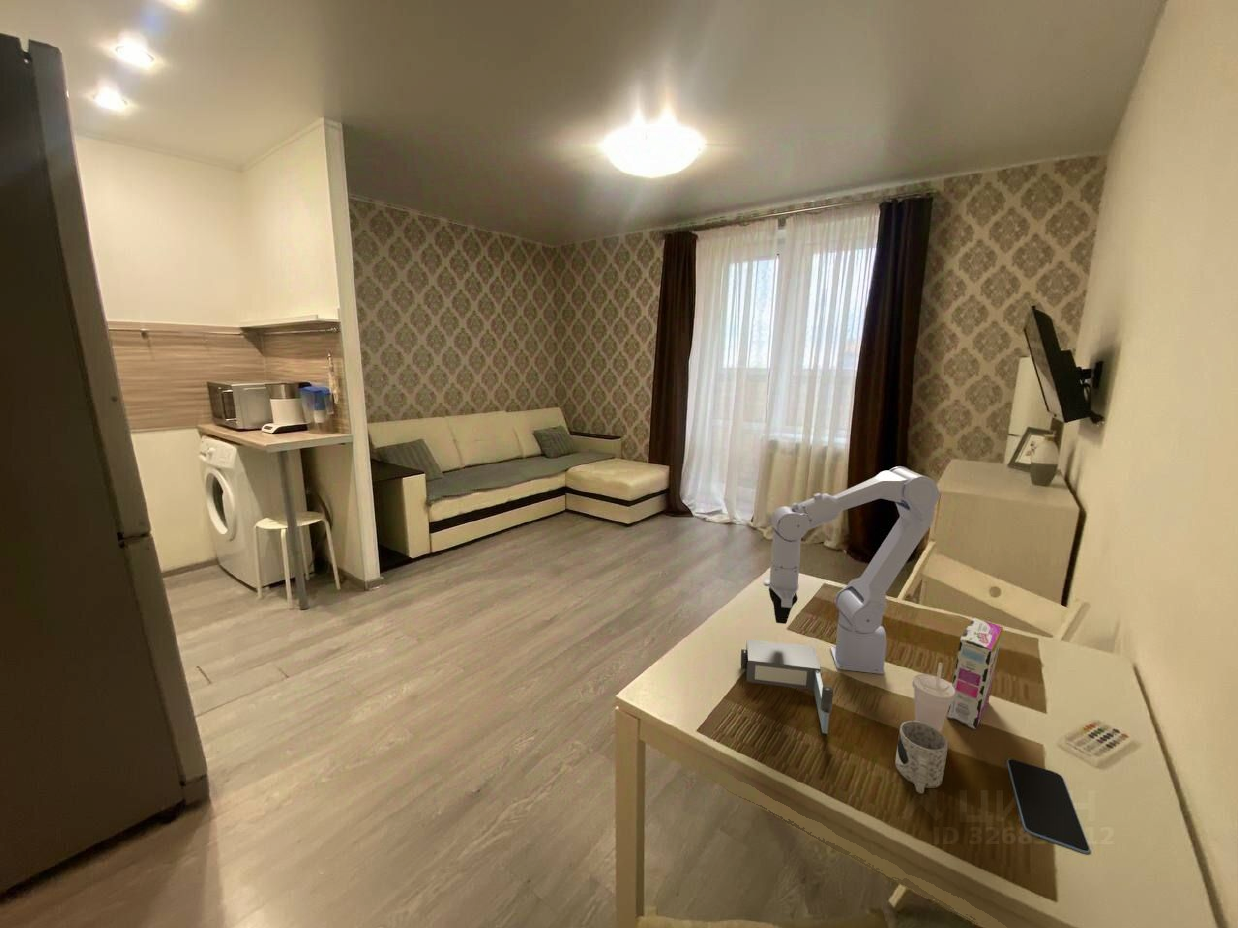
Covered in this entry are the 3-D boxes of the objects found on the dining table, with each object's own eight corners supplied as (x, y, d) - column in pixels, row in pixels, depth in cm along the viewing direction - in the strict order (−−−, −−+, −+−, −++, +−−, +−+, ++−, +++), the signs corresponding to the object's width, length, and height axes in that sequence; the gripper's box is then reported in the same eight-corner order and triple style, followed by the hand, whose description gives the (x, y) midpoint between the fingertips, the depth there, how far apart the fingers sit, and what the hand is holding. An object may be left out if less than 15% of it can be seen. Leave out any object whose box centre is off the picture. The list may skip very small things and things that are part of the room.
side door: (810, 688, 101) (814, 651, 99) (820, 689, 100) (823, 653, 98) (819, 732, 89) (823, 692, 87) (830, 734, 88) (834, 693, 87)
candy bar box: (978, 731, 89) (992, 650, 86) (945, 717, 93) (958, 638, 89) (990, 701, 97) (1004, 625, 93) (960, 689, 100) (972, 615, 97)
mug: (895, 748, 86) (900, 715, 84) (941, 764, 82) (947, 729, 81) (893, 792, 77) (898, 755, 76) (944, 811, 74) (950, 774, 73)
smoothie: (954, 748, 86) (966, 676, 83) (913, 743, 87) (923, 672, 84) (939, 722, 92) (949, 654, 89) (901, 717, 93) (910, 650, 90)
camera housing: (812, 666, 108) (813, 646, 107) (818, 690, 100) (820, 668, 99) (740, 658, 111) (741, 638, 110) (741, 681, 103) (742, 659, 102)
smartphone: (1025, 830, 71) (1005, 755, 83) (1024, 834, 71) (1004, 760, 84) (1094, 854, 67) (1062, 772, 80) (1093, 859, 67) (1061, 777, 80)
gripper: (763, 549, 113) (759, 603, 116) (767, 576, 99) (764, 637, 102) (795, 551, 112) (791, 606, 115) (805, 579, 98) (800, 641, 101)
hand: (780, 621), depth 108 cm, fingers closed
